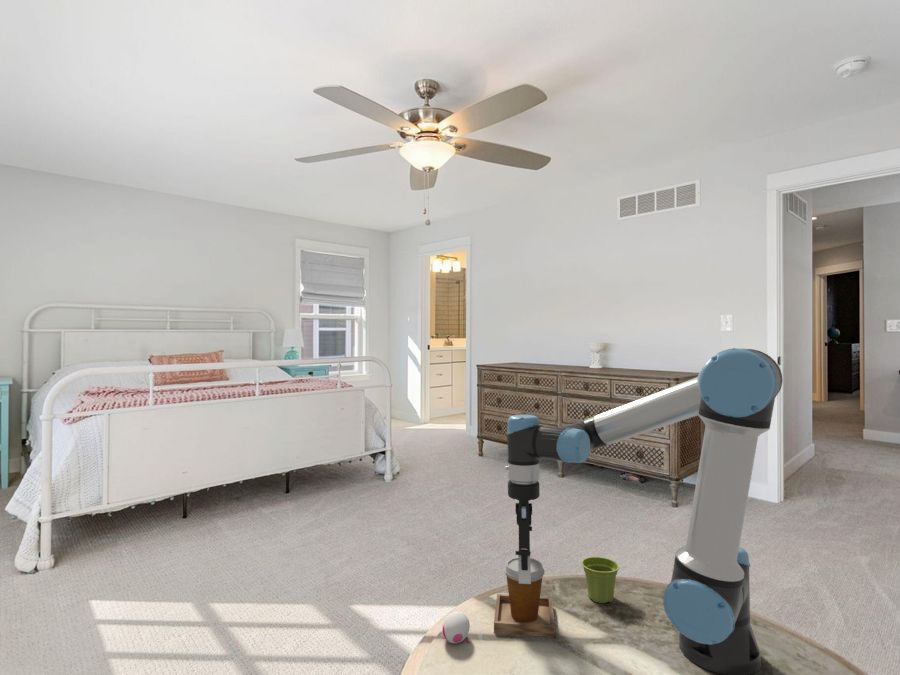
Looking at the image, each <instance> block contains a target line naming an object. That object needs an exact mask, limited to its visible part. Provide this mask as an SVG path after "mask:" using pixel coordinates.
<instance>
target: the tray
mask: <svg viewBox="0 0 900 675" xmlns="http://www.w3.org/2000/svg"><path fill="white" fill-rule="evenodd" d="M494 608H495V611H494V618H493V620H494V621H493V633H495V634H496V633H497V634H507V635H509V634H510V635H520V636H521V635H522V636H532V637H533V636H534V637H546V638H556V624H555V616H554V605H553V598H552V597H549V596H548V597H547V596H540V602H539V610H538V618H537V619H536V620H535V621H532V622H520V621H517V620H515V619H514V618H513V617H512V616H511V608H510V600H509V593H508V594H506V593H497V594H496V601H495V607H494Z"/></svg>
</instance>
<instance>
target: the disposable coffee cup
mask: <svg viewBox="0 0 900 675" xmlns="http://www.w3.org/2000/svg"><path fill="white" fill-rule="evenodd" d="M530 561H531V584H521V583H519V572H518V556H516V557H512V558H510V559H508V560H507V561H506V563H505V566H504V568H503V570H504V573H505V576H506V582H507V583H506V584H507V591H508V594H509V600H510V608H511V616H512V617H513V618H514V619H515V620H517V621H520V622H532V621H535V620H536V619H537V618H538V610H539V602H540V597H541V592H542V591H541V590H542V584H543V577H544V575H545V568H544V567H543V564H542V562H540V561H539V560H537V559H535V558H533V557H530Z"/></svg>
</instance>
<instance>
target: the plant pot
mask: <svg viewBox="0 0 900 675" xmlns="http://www.w3.org/2000/svg"><path fill="white" fill-rule="evenodd" d="M581 566H582V567H583V571H584V575H585V579H586V580H585V581H586V588H587V595H588V598H589V599H591V600H592V601H593V602H594V603H595V602H596V603H600V604H606V603H608V602H609V603H612V602H613V600H614V594H615V586H616V577H617V575H618V571H619V570H620V564H619V563H618V562H616V561H614V560H613V559H611V558H608V557H601V556H589V557H586V558H584V559H582V560H581Z"/></svg>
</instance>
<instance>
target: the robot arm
mask: <svg viewBox="0 0 900 675" xmlns="http://www.w3.org/2000/svg"><path fill="white" fill-rule="evenodd" d="M782 385H783V373H782V370H781V368H780V365H779V363H777V362H776V360H774V358H772V357H771V356H770V355H769V354H767V353H765V352H764V351H761V350H758V349H751V348H735V347H734V348H728V349H724V350H721V351H719V352H717V353H716V354H714V355H713V356H711V357H710V358H709V359H708V360H707V361H706V362H705V363H704V364H703V366H702V367H701V369H700V371H699V373H698V375H697V376H696V377H694V378H692V379H691V378H690V379H689V380H686V381H683V382H681V383H678V384H675V385H673V386H670V387H668V388H665V389H663V390H660V391H657V392H654V393H652V394H649V395H646V396H643V397H640V398H639V399H636V400H633V401H630V402H628V403H625V404H622V405H620V406H617V407H615V408H612V409H610V410H607V411H604V412H602V413H599V414H597V415H594V416H590V417H589V418H586V419H583V420H579V421H577V422H574V423H571V424H567V425H563V426H550V425H549V426H547V425H541V424H540V422H539V417H538V416H536V415H532V414H515V415H511V416H509V417H508V419H507V429H506V431H507V432H506V440H507V442H506V443H507V465H505V467H504V469H505V470H507V478H508V481H507V496H508V497H509V498H510V499H512V500H517V501H518V502H515V515H516V525H517V526H518V550H515V555H516V556H517V557H518V572H519V583H521V584H531V561H530V558H531V534H530V532H533V526H532V515H533V503H530V501H535V500H537V499H539V497H540V482H539V481H540V459H545V460H552V461H557V462H562V463H563V462H564V463H568V464H571V463H573V464H574V463H575V464H581V463H584V462H586V461H587V459H588V458H589V456H590V452H593V451H595V450H597V449H601V448H603V447H607V446H608V445H609V446H610V445H613V444H615V443H617V442H622V441H625V440H628V439H630V438H633V437H636V436H639V435H642V434H646V433H648V432H651V431H655V430H658V429H660V428H663V427H666V426H669V425H672V424H676V423H679V422H682V421H685V420H687V419H691V418H695V417H697V416H698V417H699V418H700V419H701V421H702V423H703V424H704V425H705V428H704V433H703V439H702V445H701V452H700V456H699V464H698V470H697V474H696V475H697V477H696V483H695V488H694V493H693V494H694V496H693V501H692V506H691V512H690V513H691V514H690V519H689V525H688V532H687V537H686V543H685V545H683V546H681V547H679V548H678V549H677V550H676V552H675V557H674V561H673V569H672V574H671V579H670V582H669V583H668V584H667V585H666V586H665V587H666V588H665V589H664V594H663V598H662V600H663V602H662V605H663V608H664V611H665V614H666V616H667V619H668V620H669V621H670V622H671V623H672V625H673V627H674V628H675V629H676V630H677V631H678V632H679V633H678V644H679V650H680V652H681V653H682V654H683V656H684V657H686V658H687V659H688V660H689V661H691V662H692V663H693V664H695V665H697V666H699V667H700V668H703V669H704V670H707V671H710V672H713V673H715V674H719V675H750V674H752V675H755V674H756V673H758V672H759V671H760V669H761V666H762V661H761V660H762V658H761V657H762V656H761V650H760V647H759V644H758V641H757V638H756V635H755V633H754V630H753V627H752V625H751V600H750V598H751V597H750V596H751V594H750V586H751V585H750V567H751V563H750V558H749V553H748V551H747V550H746V549H744V548H743V547H742V546H740V545H741V544H740V543H741V539H742V532H743V528H744V522H745V521H744V520H745V515H746V508H747V504H748V498H749V492H750V491H749V490H750V485H751V480H752V475H753V470H754V462H755V457H756V456H755V455H756V450H757V444H758V439H759V436H760V435H762V434H764V433H766V432H768V431H769V430H770V429H771V423H772V417H773V413H774V407H775V400H776V397H777V396H778V395H779V393H780V391H781V389H782ZM757 671H758V672H757ZM754 673H755V674H754Z"/></svg>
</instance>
